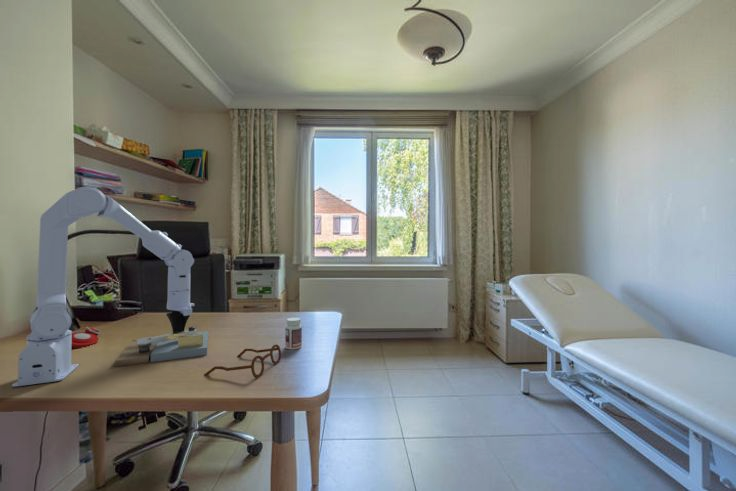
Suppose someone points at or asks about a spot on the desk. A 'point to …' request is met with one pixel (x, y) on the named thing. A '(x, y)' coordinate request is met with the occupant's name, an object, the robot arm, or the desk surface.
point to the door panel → (178, 350)
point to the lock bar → (165, 337)
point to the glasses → (252, 361)
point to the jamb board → (135, 354)
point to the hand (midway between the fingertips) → (178, 336)
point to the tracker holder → (85, 338)
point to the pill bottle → (293, 334)
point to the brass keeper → (190, 341)
